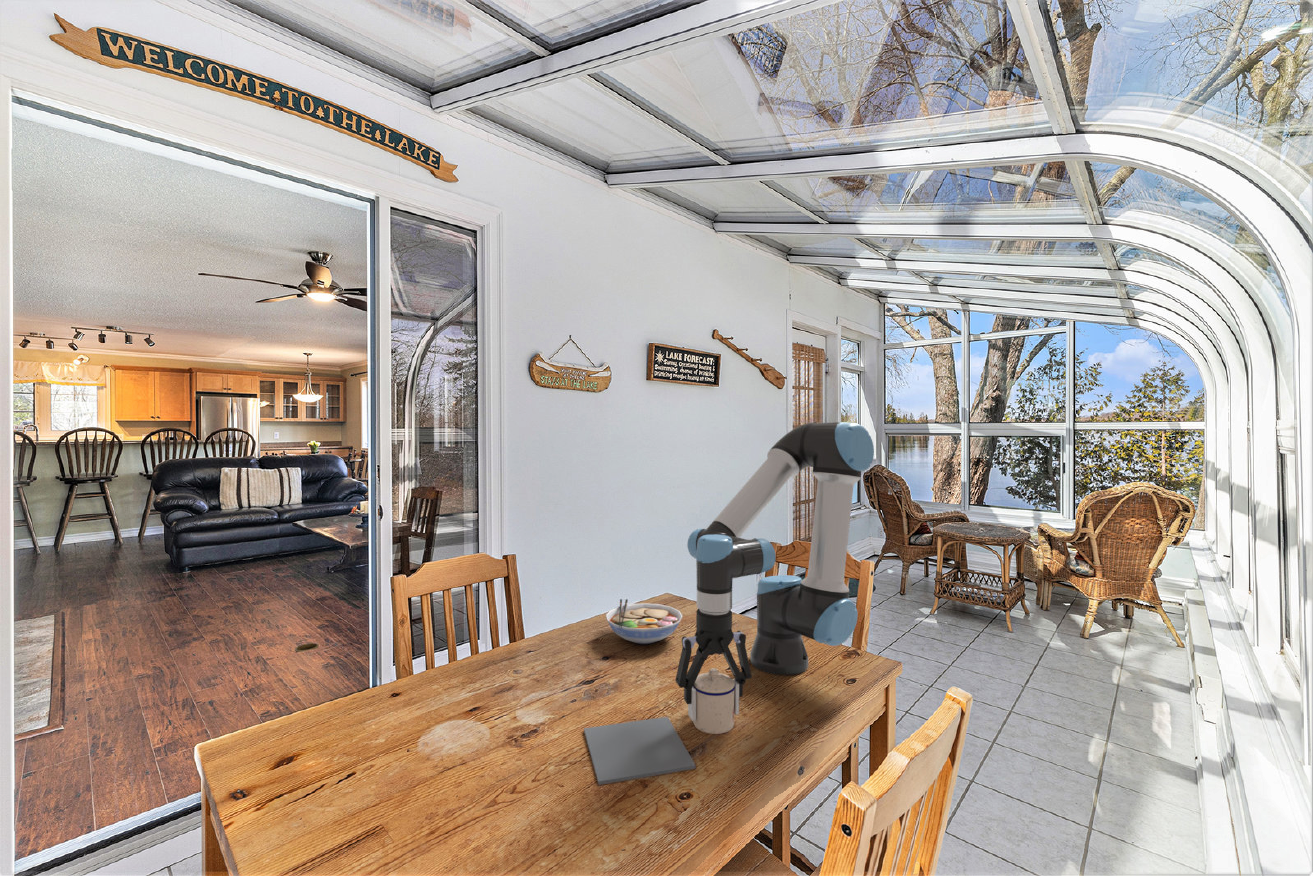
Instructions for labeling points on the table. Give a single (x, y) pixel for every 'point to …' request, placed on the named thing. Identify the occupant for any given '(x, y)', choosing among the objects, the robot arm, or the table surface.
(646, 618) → the ramen bowl
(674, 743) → the slate mat
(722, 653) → the robot arm
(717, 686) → the teacup with lid
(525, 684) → the table surface
